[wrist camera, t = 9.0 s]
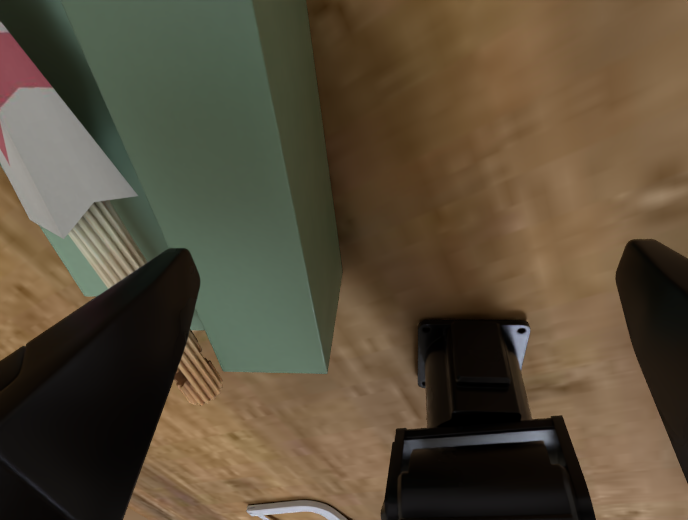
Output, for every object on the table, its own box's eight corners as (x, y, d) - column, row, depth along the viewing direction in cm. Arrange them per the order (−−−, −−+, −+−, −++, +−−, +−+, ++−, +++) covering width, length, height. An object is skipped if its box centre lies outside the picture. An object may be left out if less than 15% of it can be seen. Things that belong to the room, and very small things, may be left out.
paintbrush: (-235, -168, 9) (203, 429, 20) (-78, -179, 10) (249, 384, 22) (-223, -109, 11) (161, 393, 23) (-98, -125, 13) (205, 355, 24)
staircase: (342, 271, 26) (327, 374, 21) (101, 273, 28) (32, 367, 23) (286, -148, 15) (220, -156, 9) (-114, -93, 17) (-352, -74, 12)
